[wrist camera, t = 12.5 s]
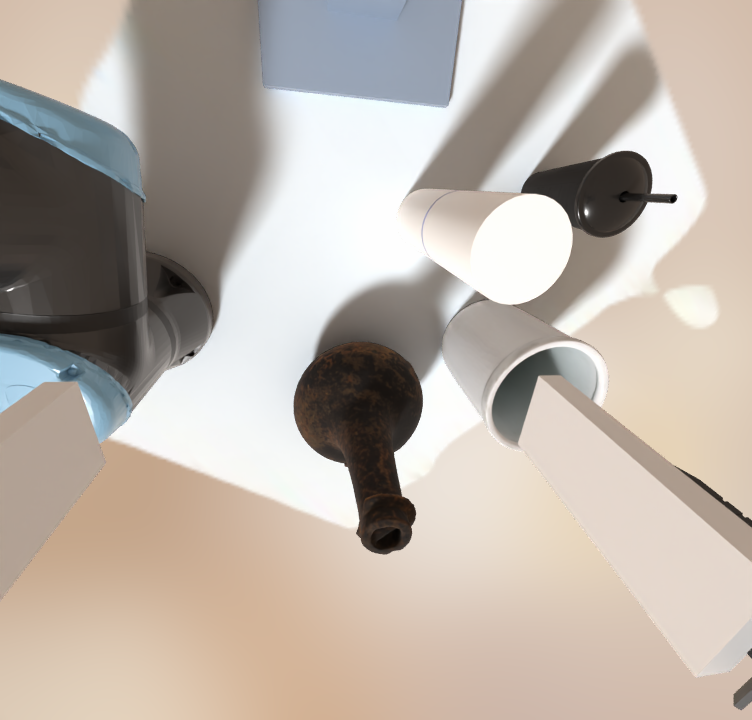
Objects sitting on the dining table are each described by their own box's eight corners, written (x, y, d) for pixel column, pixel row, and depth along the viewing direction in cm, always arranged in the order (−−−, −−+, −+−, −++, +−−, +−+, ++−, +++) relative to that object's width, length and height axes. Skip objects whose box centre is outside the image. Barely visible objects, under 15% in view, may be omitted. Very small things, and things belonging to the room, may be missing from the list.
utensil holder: (509, 274, 51) (593, 314, 35) (541, 350, 57) (623, 412, 42) (421, 328, 53) (464, 389, 37) (462, 396, 59) (513, 472, 44)
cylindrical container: (399, 186, 43) (481, 190, 21) (454, 190, 45) (587, 197, 22) (394, 246, 47) (462, 304, 24) (445, 248, 48) (555, 305, 26)
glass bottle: (297, 428, 57) (280, 614, 33) (295, 325, 50) (271, 467, 25) (403, 426, 60) (462, 596, 36) (418, 329, 52) (505, 459, 28)
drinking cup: (500, 214, 47) (610, 233, 29) (526, 150, 44) (667, 128, 26) (547, 231, 49) (678, 258, 31) (576, 171, 46) (738, 163, 28)
